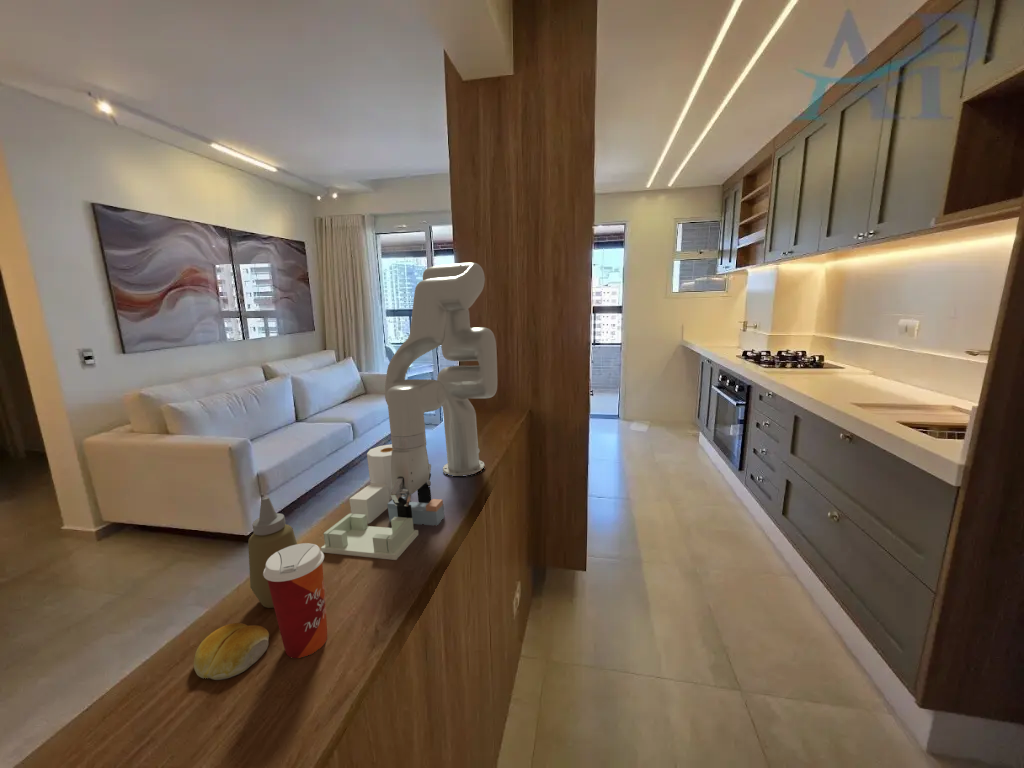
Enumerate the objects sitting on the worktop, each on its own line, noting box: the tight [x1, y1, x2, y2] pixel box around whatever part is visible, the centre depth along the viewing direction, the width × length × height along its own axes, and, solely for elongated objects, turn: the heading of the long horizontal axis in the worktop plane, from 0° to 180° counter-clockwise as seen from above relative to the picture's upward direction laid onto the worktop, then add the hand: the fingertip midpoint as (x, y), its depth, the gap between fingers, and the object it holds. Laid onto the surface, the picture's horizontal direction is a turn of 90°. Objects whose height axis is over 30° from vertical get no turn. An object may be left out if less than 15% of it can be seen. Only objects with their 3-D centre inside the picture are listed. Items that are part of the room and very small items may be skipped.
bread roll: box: [193, 622, 270, 681], centre depth 59 cm, size 8×9×4 cm
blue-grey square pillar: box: [387, 496, 445, 527], centre depth 96 cm, size 4×12×5 cm, turn 76°
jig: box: [320, 512, 419, 561], centre depth 87 cm, size 10×17×4 cm, turn 76°
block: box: [348, 483, 391, 525], centre depth 100 cm, size 9×4×6 cm, turn 166°
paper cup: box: [263, 542, 328, 659], centre depth 60 cm, size 8×8×14 cm
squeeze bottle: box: [247, 497, 298, 609], centre depth 70 cm, size 8×8×18 cm
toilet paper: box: [366, 443, 408, 501], centre depth 111 cm, size 10×10×12 cm
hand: (415, 511), depth 96 cm, fingers open, 9 cm apart
